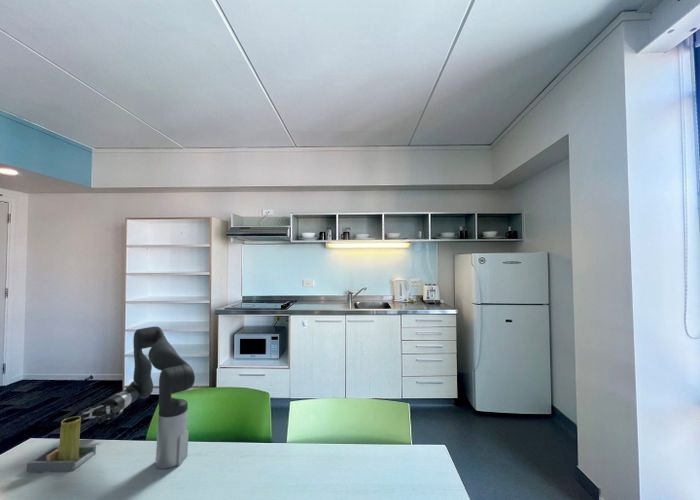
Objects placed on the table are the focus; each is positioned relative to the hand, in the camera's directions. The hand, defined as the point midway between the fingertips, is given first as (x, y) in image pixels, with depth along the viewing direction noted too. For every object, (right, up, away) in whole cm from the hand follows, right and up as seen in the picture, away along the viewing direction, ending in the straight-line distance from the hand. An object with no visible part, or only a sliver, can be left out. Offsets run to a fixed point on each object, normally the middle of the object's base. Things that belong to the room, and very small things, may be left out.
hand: (87, 421), depth 118 cm
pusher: (-2, -9, -10) cm, 13 cm away
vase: (+2, -9, -10) cm, 13 cm away
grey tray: (0, -9, -10) cm, 14 cm away
